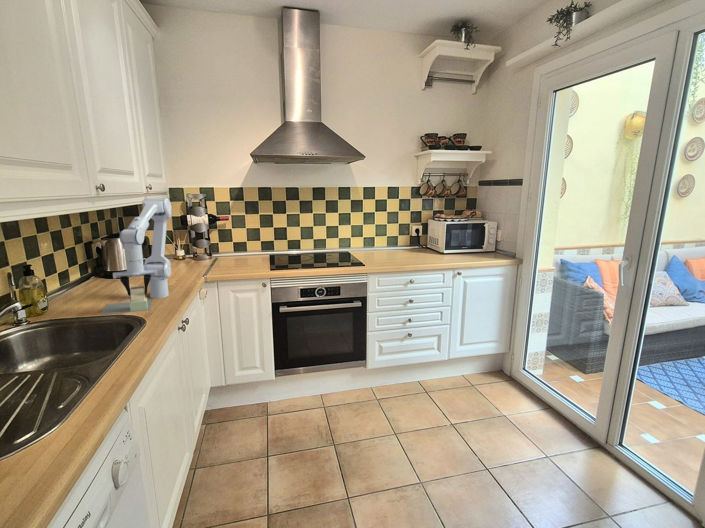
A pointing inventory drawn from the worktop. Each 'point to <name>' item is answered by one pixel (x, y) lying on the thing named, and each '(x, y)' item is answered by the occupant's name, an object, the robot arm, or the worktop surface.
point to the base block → (138, 305)
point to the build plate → (121, 308)
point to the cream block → (137, 294)
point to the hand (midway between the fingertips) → (137, 294)
